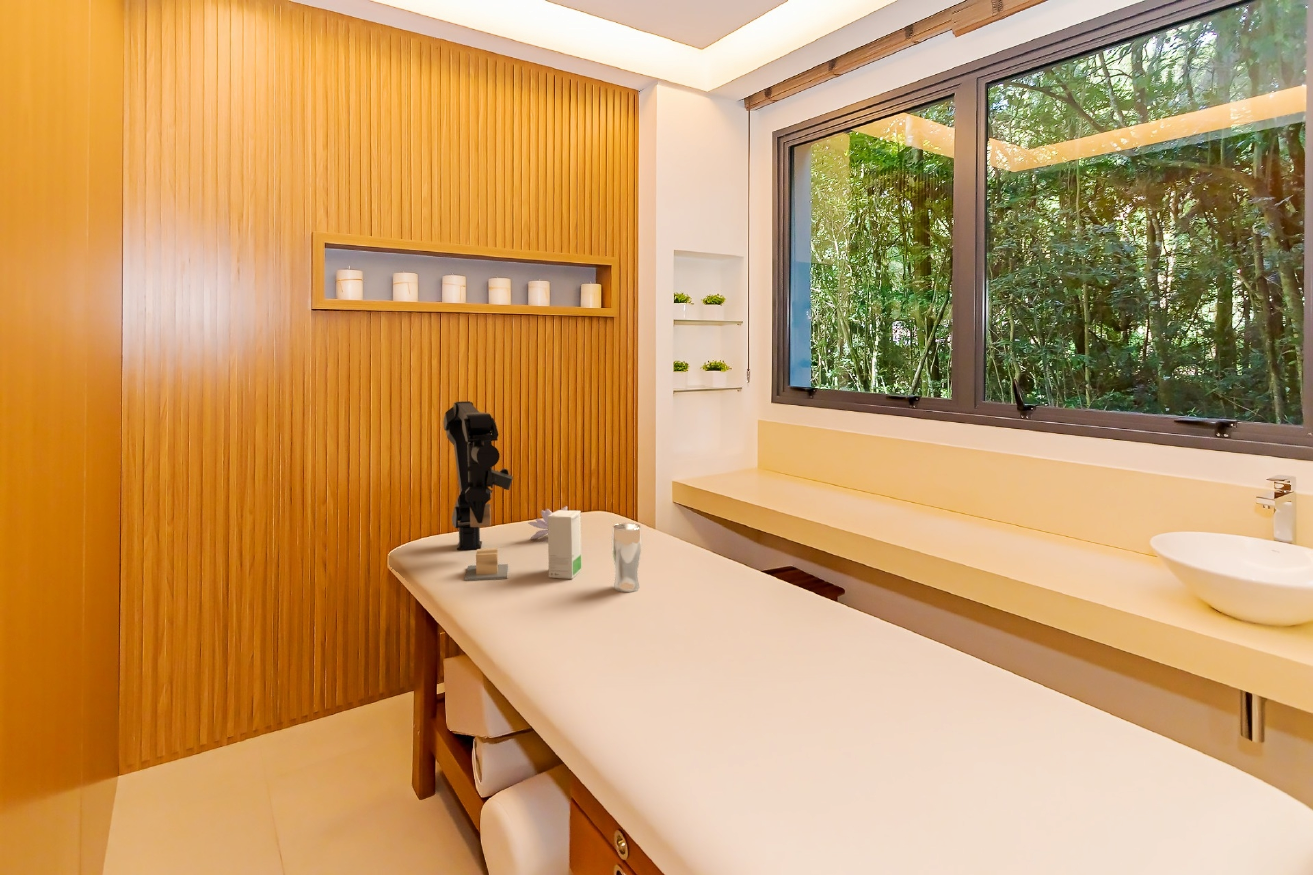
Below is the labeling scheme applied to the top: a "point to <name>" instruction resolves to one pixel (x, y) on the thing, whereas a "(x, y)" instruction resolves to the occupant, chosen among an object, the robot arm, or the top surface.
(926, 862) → the top surface
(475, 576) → the slate coaster
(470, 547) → the robot arm
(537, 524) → the water lily
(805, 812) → the top surface
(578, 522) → the skincare box
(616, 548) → the beer glass
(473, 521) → the walnut cube
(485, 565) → the oak cube
